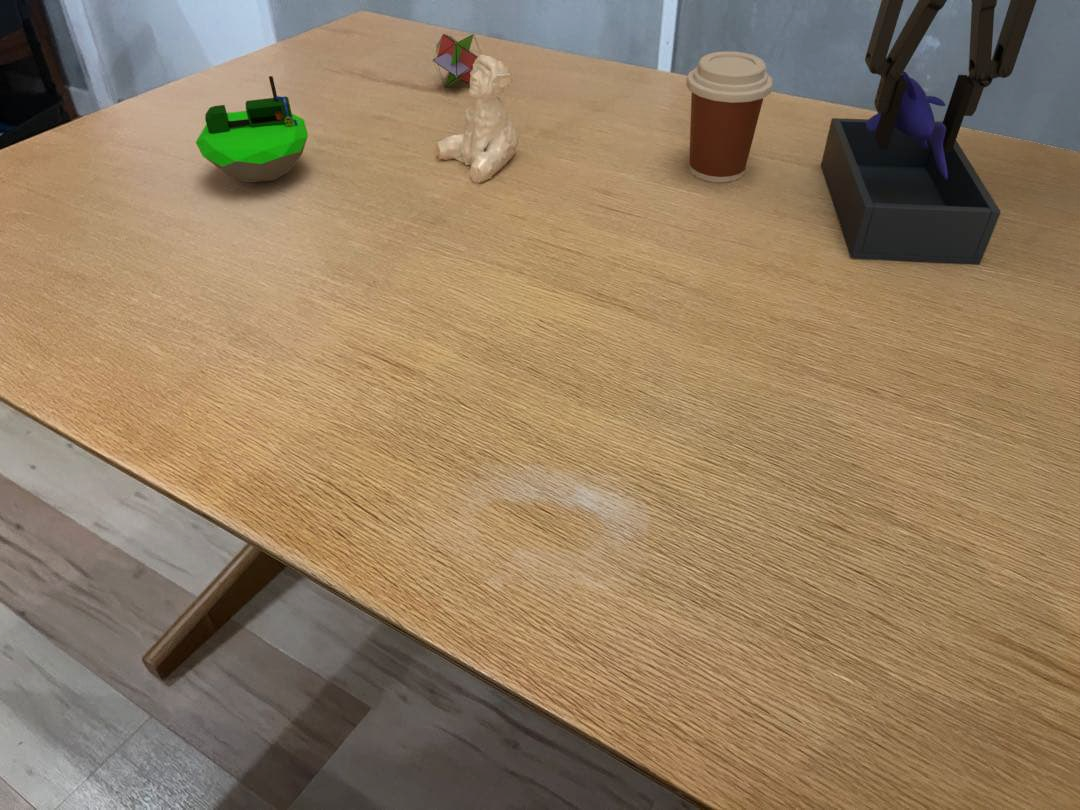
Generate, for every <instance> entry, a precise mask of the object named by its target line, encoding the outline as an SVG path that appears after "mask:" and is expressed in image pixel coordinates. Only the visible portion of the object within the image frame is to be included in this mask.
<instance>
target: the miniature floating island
mask: <svg viewBox="0 0 1080 810" xmlns="http://www.w3.org/2000/svg"><path fill="white" fill-rule="evenodd" d="M268 81H269V85H270V88H271V93H272V97H268V98H260V99H259V98H258V99H251V100H246V101H245V110H241V111H231V112H227V109H226V105H225V104H219V105H214V106H211V107H209V108H208V110H207V111H206V113H205V116H204V117H205V118H204V120H205V123H206V124H205V125H204V127H203V128H202V131H201V133H199V136H198V138H197V139H196V141H195V144H196V146H197V148H198V150H199V152H200V153H201V155H202V157H203V158H204V159H206V160H207V161H208V162H210V163H211V164H213V166H215V167H217V168H218V169H219V170H221V171H222V172H223V173H225V174H226V175H227V176H228V177H232V178H234V179H236V180H239V181H242V182H244V183H247V184H248V183H257V182H258V183H259V182H268V181H276V180H277V179H279V178H280V177H282V176H283V175H285V174H287V173H288V172H290V171H291V170H292V169H293V167H294V166H295V164H296V163H297V162H298V160H299V159H300V158H301V156H302V155H303V152H304V149H305V146H306V143H307V140H308V135H309V133H308V130H307V125H306V122H305V119H304V118H302V117H300V116H298V115H296V114H294V113H292V109H291V104H290V99H289V97H288V96H286V95H285V96H278V94H277V90H276V85H275V81H274V77H273V76H272V75H270V76H268Z"/></svg>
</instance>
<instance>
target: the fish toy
mask: <svg viewBox="0 0 1080 810" xmlns="http://www.w3.org/2000/svg"><path fill="white" fill-rule="evenodd" d="M902 76H903V78H904V79H905V81H906V83H907V85H906V88H905V92H904V95H903V98H902V102H901V105H900V109H899V112H898V116H897V119H896V122H895V127H896V128H897V129H899V130H900V131H902V132H903V133H905V134H906V135H908V136H910V137H912V138H915V139H916V141H917V143H918V144H919V146H920V147H922V148H924V149H926V148H927V140H928V141H930V143H931V147H932V151H933V155H934V159H935V162H936V164H937V167H938V169H939V171H940V172H941V174H942V176H943V177H944V178H945V179H946V180H947V178H948V173H947V166H946V160H945V155H944V149H943V141H944V136H945V132H946V127H945V125H944V124H942V123H937V124H936V125H935V126H934V122H936V121H935V116H934V111H933V109H932V107H931V104H932V105H935V106H939V107H946V103H945V101H943V100H942V99H941V98H940V97H937V96H934V95H927V94H926V91H925V90H924V89H923V87H922V86H921V85H920V83H918V81H917V80H915V79H914V78H912V77H910V76H909V75H908V73H907V72H906V71H905V70H904V71H903V73H902ZM880 116H881V113H878V112H877V113H875V114H874V115H872V116H871V117H869V118H868V119H869V120H868V121H867V122H866V128H867V129H868V130H869V131H874V130H875V129H876V128H877V127H878V123H879V120H880Z"/></svg>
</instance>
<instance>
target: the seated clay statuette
mask: <svg viewBox="0 0 1080 810" xmlns="http://www.w3.org/2000/svg"><path fill="white" fill-rule="evenodd" d="M477 56H478V57H477V59H476V60H475V63H474V64H473V70H472V71H471V72H470V75H471V77H470V85H469V89H468V93H467V94H468V95H469V97H468V101H467V107H466V108H465V109H464V111H463V116H464V121H465V125H464V127H465V131H464V133H459V134H452V135H449V136H444V138H443V139H441V140H439V141H438V140H437V141H436V142H435V149H436V153H437V154H436V155H437V157H438V160H444V161H447V160H456V161H458V162H460V163H462V164H464V165H465V166H469V167H470V169H469V175H470V178H471V179H472V181H473V183H477V184H480V183H484V182H486V181H487V180H492V177H493V176H494V175H495V174H496V173H498V171H499V170H502V168H503V167H504V166H506V165H507V163H508V162H509V161H510V160H511V159H512V158H513V157H514V155H515V154H516V149H517V147H518V145H519V139H520V136H519V134H518V133H517V131H516V128H515V126H513V122H512V120H510V116H509V114H508V113H509V111H508V109H507V107H506V106H505V103H504V101H503V100H502V99H501V98H500V97H501V96H502V94H503V93H504V92H505V89H506V88H508V87H509V86H510V85H511V84H512V82H513V74H512V72H511V73H510V72H509V70H508V67H506V66H505V64H504V63H503V62H502V61H501V60H497V58H496V57H492V56H491V55H485V54H483V53H482V54H481V53H480V54H478V55H477Z"/></svg>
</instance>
